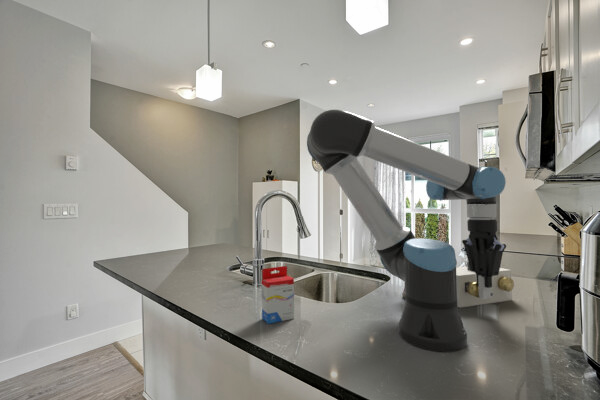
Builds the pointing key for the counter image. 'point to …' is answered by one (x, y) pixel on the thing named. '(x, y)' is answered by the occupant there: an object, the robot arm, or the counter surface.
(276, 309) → the ink box
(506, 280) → the knob right
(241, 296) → the counter surface
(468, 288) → the knob left
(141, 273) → the counter surface
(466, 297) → the console
